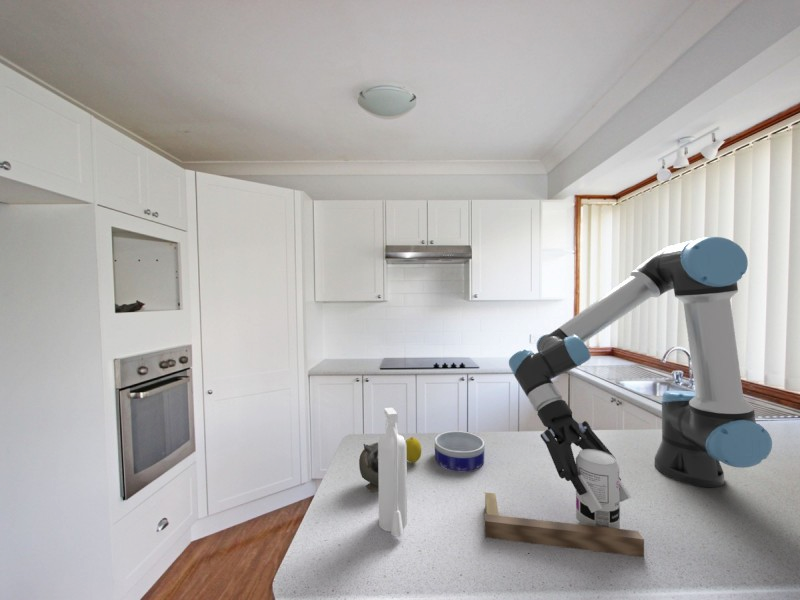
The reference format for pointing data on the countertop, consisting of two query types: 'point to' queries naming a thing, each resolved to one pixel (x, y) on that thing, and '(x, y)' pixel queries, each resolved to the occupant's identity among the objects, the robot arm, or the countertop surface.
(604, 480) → the supplement can
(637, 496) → the countertop surface
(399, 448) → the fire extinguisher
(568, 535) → the walnut fence
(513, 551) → the countertop surface
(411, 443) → the lemon
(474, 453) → the dog bowl
